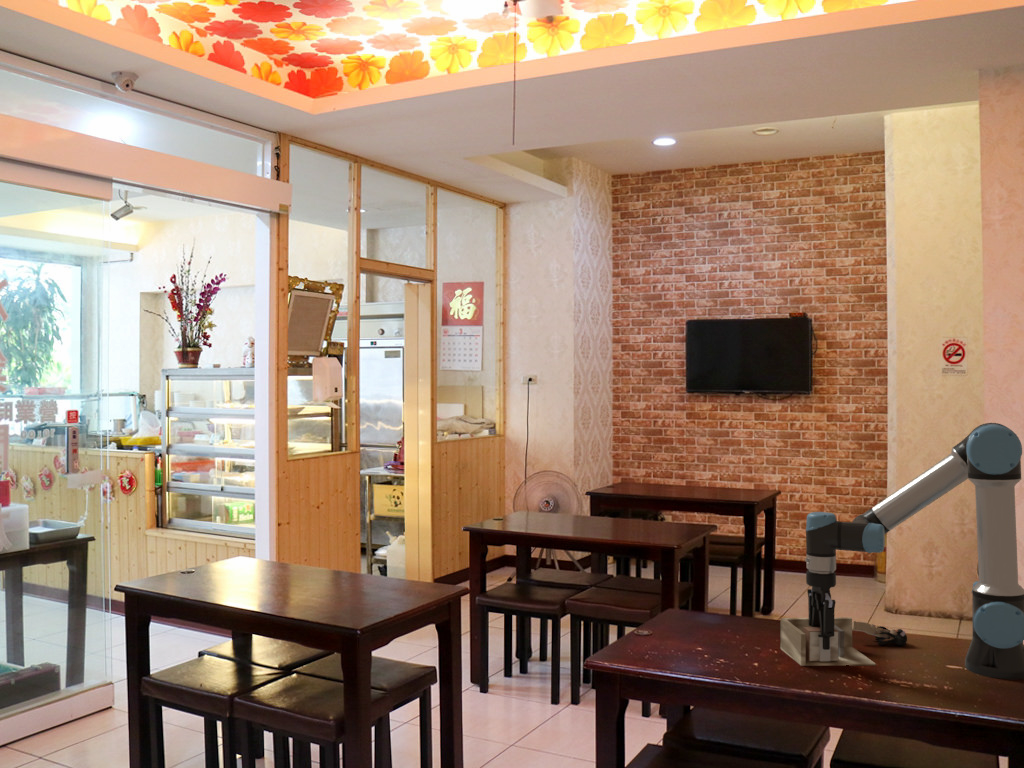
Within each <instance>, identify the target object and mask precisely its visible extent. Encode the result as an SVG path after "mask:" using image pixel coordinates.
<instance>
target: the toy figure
mask: <svg viewBox="0 0 1024 768" xmlns="http://www.w3.org/2000/svg"><path fill="white" fill-rule="evenodd" d="M853 631H855V632H863V633H866V634H867V635H870V636H874V639H875V641H876V642H877V644H878V646H885V645H891V644H894V645H897V646H899V647H900V646H901V647H904V646H905V645H907V642H908V636H907V633H906V631H905V630H903V629H902V628H898V629H896V628H895V629H893V628H891V629H889V628H888V627H886V626H884V625H883V626H881V625H877V626H876V625H875V624H872V623H871V624H870V623H869V622H865V621H856V620H852V632H853Z"/></svg>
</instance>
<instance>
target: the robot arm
mask: <svg viewBox="0 0 1024 768" xmlns="http://www.w3.org/2000/svg"><path fill="white" fill-rule="evenodd" d="M1022 446H1023V445H1022V443H1021V440H1020V438H1019V436H1018V435H1017V434H1016V433H1015V432H1014V431H1013V430H1012V429H1011V428H1009V427H1007V426H1006V425H1004V424H1001V423H999V422H998V423H997V422H987V423H983V424H980V425H978V426H977V427H975V428H974V429H972V430H971V431H970V433H969V434H967V436H966V437H965V438H963V439H962V440H961V441H960V442H959V443H957V444H956V445H954V446H952V447H951V452H950V454H948V455H947V456H946V457H944V458H942V459H941V460H940V461H938V462H936V463H935V464H933V466H931V467H929V468H928V469H926V470H924V472H922V473H920V474H919V475H917V476H916V477H915V478H913V479H912V480H910V481H909V482H908V483H906V484H904V485H903V486H901V487H900V488H899V489H897V490H895V492H893V493H892V494H890V495H888V496H887V497H886V498H884V499H883V500H881V501H880V502H877V504H875V505H874V506H872V507H871V508H870V509H868V510H867V511H865V512H863V513H862V514H859V515H858V516H856V517H855V518H854V519H853V520H852V521H840V520H837V516H836V514H835V513H832V512H826V511H813V512H812V511H811V512H809V513H808V514H807V515H806V524H805V525H806V527H805V543H806V544H805V545H806V546H805V554H806V558H804V562H806V569H807V570H806V572H805V574H806V575H805V581H806V584H807V586H810V587H811V588H810V589H809V588H808V589H807V590H806V591H807V599H808V603H807V604H808V608H807V609H808V618H809V626H811V627H820V631H821V635H818V637H819V661H830V637H834V618H835V608H836V599H832V594H831V588H835V587H836V585H837V573H836V572H835V571H836V570H837V553H836V552H837V550H838V551H849V552H859V553H868V554H872V553H876V554H877V553H878V554H879V553H883V552H884V550H885V544H886V543H885V542H886V540H885V539H886V534H887V533H889V532H890V531H892V530H893V529H894V528H896V527H898V526H899V525H901V524H902V523H904V522H905V521H907V520H908V519H910V518H911V517H913V516H914V515H915V514H917V513H919V512H920V511H922V510H923V509H925V508H926V507H927V506H929V505H930V504H932V503H934V502H935V501H937V500H938V499H940V498H941V497H943V496H945V495H946V494H948V493H949V492H951V491H952V490H954V489H955V488H956V487H958V486H960V485H961V484H962V483H965V482H966V481H967V480H969V481H970V482H971V483H972V484H973V485H974V488H975V490H974V491H975V492H974V493H975V513H976V514H975V515H976V516H975V518H976V539H977V540H976V543H977V565H978V566H977V569H978V570H977V571H978V580H977V581H974V582H973V584H972V589H971V594H972V596H971V597H972V599H971V600H972V601H971V602H972V614H971V616H972V617H971V618H972V639H971V641H970V645H969V647H968V650H967V653H966V655H965V658H964V668H965V669H966V670H968V671H969V672H970V673H973V674H976V675H979V676H983V677H987V678H993V679H1001V680H1015V681H1016V680H1017V681H1019V680H1024V588H1023V587H1022V586H1021V585H1020V584H1019V571H1018V568H1019V567H1018V545H1017V544H1018V543H1017V516H1016V515H1017V513H1016V492H1015V491H1016V490H1015V489H1016V488H1015V486H1016V485H1017V484H1018V483H1020V481H1022V461H1021V460H1022V455H1023V447H1022Z"/></svg>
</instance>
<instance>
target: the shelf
mask: <svg viewBox="0 0 1024 768" xmlns="http://www.w3.org/2000/svg"><path fill="white" fill-rule="evenodd" d="M852 624H853V618H852V617H843V616H842V617H834V628H835V629H836V630H838V631H839V649H838V661H808V660H807V659H806V634H805V633H803V627H811V626H809V617H783V618H782V617H781V618H780V625H779V626H780V627H779V628H780V629H779V630H780V636H779V637H780V638H779V639H780V640H779V641H780V646H779V647H780V648H779V649H780V650H781V651H782V652H783V653H785V654H786V655H787V656H788V657H790V658H791V659H792V660H793V661H795V662H796V663H797V664H798V665H799V666H802V667H803V666H804V667H805V666H806V667H809V666H811V667H813V666H814V667H815V666H817V667H819V666H820V667H822V666H825V667H826V666H828V667H829V666H833V667H835V666H843V667H845V666H846V665H849V666H876V665H877V663H875V662H874V661H873V660H871V659H870V658H869V657H867V656H866V655H865V654H863V653H861V652H860V651H858V650H857V649H856V648H854V647H853V630H852Z"/></svg>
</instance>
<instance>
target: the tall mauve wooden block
mask: <svg viewBox="0 0 1024 768" xmlns="http://www.w3.org/2000/svg"><path fill="white" fill-rule="evenodd" d="M803 633H805V634H806V659H807V660H808V661H819V637H818V635H821V631H820V627H803ZM838 649H839V631H838V630H836V629H835V628H834V637H830V661H838Z"/></svg>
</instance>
